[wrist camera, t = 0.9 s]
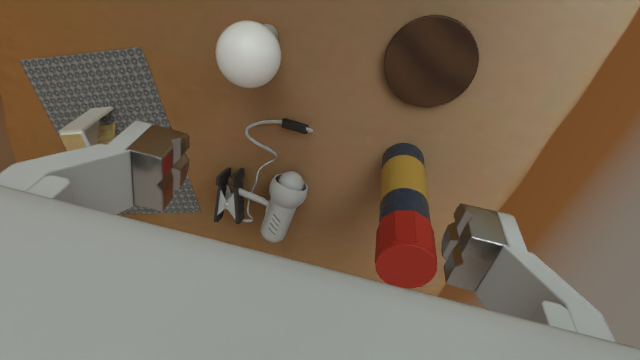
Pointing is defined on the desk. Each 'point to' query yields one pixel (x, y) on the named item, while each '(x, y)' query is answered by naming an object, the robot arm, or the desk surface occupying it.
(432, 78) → the coaster
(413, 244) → the cap
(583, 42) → the desk surface
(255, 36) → the lightbulb
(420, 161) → the spray can
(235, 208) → the clip-on lamp
